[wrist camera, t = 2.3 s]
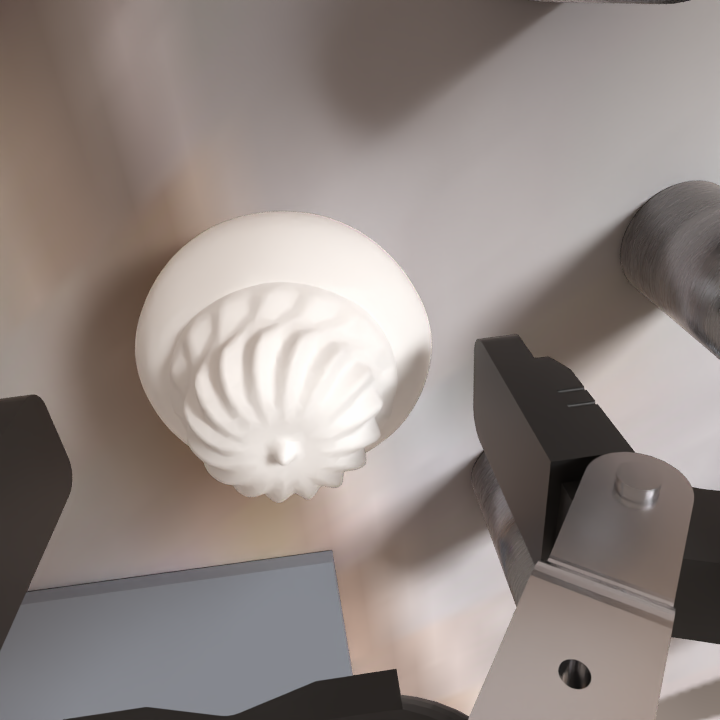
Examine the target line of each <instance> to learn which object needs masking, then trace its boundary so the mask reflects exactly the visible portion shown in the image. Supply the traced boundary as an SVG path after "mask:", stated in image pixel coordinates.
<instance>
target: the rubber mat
mask: <svg viewBox="0 0 720 720" xmlns="http://www.w3.org/2000/svg"><path fill="white" fill-rule="evenodd" d="M346 676H353V674H352V668H351V662H350V656H349V650H348V644H347V638H346V632H345V626H344V620H343V614H342V608H341V602H340V595H339V589H338V583H337V577H336V571H335V565H334V559H333V553H332V551H324V552H317V553H310V554H302V555H295V556H288V557H280V558H273V559H266V560H258V561H251V562H244V563H236V564H229V565H222V566H214V567H207V568H200V569H192V570H185V571H178V572H171V573H163V574H156V575H149V576H141V577H134V578H127V579H119V580H112V581H105V582H97V583H90V584H83V585H75V586H68V587H61V588H53V589H46V590H39V591H31V592H26V594H25V596H24V599H23V601H22V603H21V605H20V608H19V610H18V612H17V614H16V617H15V619H14V621H13V623H12V626H11V628H10V630H9V632H8V635H7V637H6V639H5V642H4V644H3V646H2V648H1V651H0V720H63V719H69V718H76V717H82V716H89V715H96V714H102V713H109V712H115V711H122V710H129V709H135V708H142V707H152V708H161V709H169V710H177V711H185V712H194V713H202V714H210V715H219V716H230V715H235V714H238V713H240V712H243V711H245V710H248V709H250V708H252V707H255V706H257V705H260V704H262V703H264V702H267V701H269V700H272V699H274V698H276V697H279V696H281V695H284V694H286V693H289V692H291V691H293V690H296V689H298V688H301V687H303V686H305V685H308V684H310V683H313V682H315V681H320V680H327V679H333V678H340V677H346Z"/></svg>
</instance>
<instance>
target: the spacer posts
mask: <svg viewBox="0 0 720 720" xmlns="http://www.w3.org/2000/svg"><path fill="white" fill-rule="evenodd" d="M530 1H538V2H583V3H635V4H674V3H679V2H685V1H689V0H530ZM620 258H621V266H622V270H623V272H624V275H625V276H626V278H627V280H628V281H629V282H630V283H631V284H632V285H633V286H634V287H635V288H636V289H637V290H639V291H640V292H641V293H642V294H643V295H644V296H646V297H647V298H648V299H649V300H650V301H652V302H653V303H654V304H655V305H656V306H657V307H659V308H660V309H661V310H662V311H663V312H664V313H666V314H667V315H668V316H669V317H670V318H671V319H673V320H674V321H675V322H676V323H677V324H679V325H680V326H681V327H682V328H683V329H684V330H686V331H687V332H688V333H689V334H690V335H691V336H693V337H694V338H695V339H696V340H697V341H698V342H700V343H701V344H702V345H703V346H704V347H706V348H707V349H708V350H709V351H710V352H711V353H713V354H714V355H715V356H716V357H717V358H718V359H720V186H719V185H717V184H714V183H711V182H707V181H688V182H683V183H680V184H676V185H674V186H671V187H669V188H667V189H665V190H663V191H662V192H660V193H658V194H657V195H655V196H654V197H653V198H651V199H650V200H649V201H648V202H647V203H646V204H644V206H643V207H642V208H641V209H640V210H639V211H638V212H637V214H636V215H635V216H634V217H633V219H632V221H631V222H630V224H629V226H628V228H627V230H626V232H625V234H624V237H623V240H622V245H621V253H620ZM471 481H472V486H473V489H474V492H475V495H476V497H477V500H478V503H479V506H480V508H481V511H482V514H483V516H484V519H485V522H486V525H487V527H488V530H489V533H490V536H491V538H492V541H493V544H494V547H495V549H496V552H497V555H498V558H499V560H500V563H501V566H502V568H503V571H504V574H505V577H506V579H507V582H508V585H509V588H510V590H511V593H512V596H513V599H514V601H515V604H516V607H517V605H518V603H519V601H520V598H521V596H522V594H523V591H524V589H525V587H526V585H527V582H528V580H529V578H530V575H531V573H532V571H533V569H534V567H535V565H534V563H533V561H532V558H531V556H530V554H529V551H528V549H527V547H526V545H525V542H524V540H523V538H522V536H521V533H520V531H519V529H518V527H517V524H516V522H515V520H514V517H513V515H512V513H511V511H510V508H509V506H508V504H507V502H506V499H505V497H504V495H503V493H502V490H501V488H500V486H499V483H498V481H497V479H496V477H495V474H494V472H493V470H492V468H491V465H490V463H489V461H488V459H487V456H486V454H485V452H483V453H482V454H481V456H480V457H479V458H478V460H477V461H476V463H475V465H474V467H473V470H472V476H471Z"/></svg>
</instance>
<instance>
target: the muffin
mask: <svg viewBox="0 0 720 720" xmlns="http://www.w3.org/2000/svg"><path fill="white" fill-rule="evenodd" d="M431 351H432V338H431V330H430V324H429V320H428V317H427V314H426V311H425V308H424V306H423V303H422V301H421V299H420V297H419V295H418V293H417V291H416V290H415V288H414V286H413V285H412V283H411V281H410V280H409V278H408V277H407V275H406V274H405V272H404V271H403V270H402V268H401V267H400V266H399V265H398V264H397V262H396V261H395V260H394V259H393V258H392V257H391V256H390V255H389V254H388V253H387V252H386V251H385V250H384V249H383V248H382V247H380V246H379V245H378V244H377V243H376V242H374V241H373V240H372V239H370V238H369V237H368V236H366V235H365V234H363V233H361V232H360V231H358V230H356V229H354V228H352V227H350V226H348V225H346V224H344V223H342V222H339V221H336V220H334V219H331V218H328V217H324V216H321V215H316V214H311V213H305V212H292V211H273V212H262V213H255V214H250V215H245V216H240V217H237V218H234V219H230V220H227V221H224V222H222V223H220V224H217V225H215V226H213V227H211V228H209V229H207V230H206V231H204V232H202V233H201V234H199V235H198V236H196V237H195V238H193V239H192V240H191V241H189V242H188V243H187V244H186V245H185V246H183V247H182V248H181V249H180V250H179V251H178V252H177V253H176V254H175V255H174V256H173V257H172V258H171V259H170V260H169V262H168V263H167V264H166V266H165V267H164V268H163V270H162V271H161V272H160V274H159V275H158V277H157V279H156V280H155V282H154V284H153V286H152V287H151V289H150V291H149V293H148V296H147V298H146V300H145V303H144V305H143V308H142V311H141V314H140V317H139V321H138V325H137V331H136V338H135V358H136V365H137V370H138V374H139V377H140V381H141V384H142V386H143V389H144V391H145V393H146V395H147V397H148V399H149V401H150V403H151V405H152V406H153V408H154V409H155V411H156V413H157V414H158V416H159V417H160V418H161V420H162V421H163V422H164V423H165V425H166V426H167V427H168V428H169V429H170V430H171V431H172V432H173V433H174V434H175V435H176V436H177V437H178V438H179V439H180V440H182V441H183V442H184V443H185V444H187V445H188V446H189V447H190V449H191V451H192V452H193V453H194V454H195V455H196V456H197V457H198V458H199V459H200V460H201V461H203V462H204V465H205V467H206V469H207V471H208V473H209V474H210V475H211V476H212V477H213V478H215V479H216V480H217V481H219V482H221V483H223V484H227V485H233V487H234V488H235V489H236V490H237V491H238V492H239V493H241V494H242V495H244V496H246V497H257V496H259V495H262V494H265V495H266V496H267V497H269V498H270V499H271V500H272V501H274V502H277V503H280V502H283V501H284V500H286V499H287V498H288V497H290V496H291V495H292V494H294V493H295V494H298V495H300V496H301V497H303V498H304V499H307V500H309V499H311V498H312V497H314V495H315V494H316V492H317V491H318V489H319V488H320V487H322V486H325V487H331V488H337V487H339V486H340V485H342V482H343V475H344V472H345V471H351V470H356V469H359V468H361V467H363V466H364V465H365V463H366V454H365V453H366V452H368V451H369V450H371V449H372V448H374V447H376V446H377V445H378V444H380V443H381V442H382V441H384V440H385V439H386V438H388V437H389V436H390V435H391V434H393V433H394V432H395V431H396V430H397V429H398V428H399V427H400V425H401V424H402V423H403V422H404V421H405V419H406V418H407V417H408V415H409V414H410V412H411V411H412V409H413V408H414V406H415V404H416V402H417V400H418V399H419V396H420V394H421V392H422V390H423V387H424V384H425V381H426V378H427V375H428V371H429V367H430V362H431Z"/></svg>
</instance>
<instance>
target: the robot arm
mask: <svg viewBox="0 0 720 720" xmlns="http://www.w3.org/2000/svg"><path fill="white" fill-rule="evenodd" d="M473 410H474V420H475V426H476V431H477V434H478V438H479V440H480V443H481V445H482V447H483V449H484V452H485V454H486V456H487V459H488V461H489V463H490V465H491V468H492V470H493V472H494V474H495V477H496V479H497V481H498V483H499V486H500V488H501V490H502V493H503V495H504V497H505V499H506V502H507V504H508V506H509V508H510V511H511V513H512V515H513V517H514V520H515V522H516V524H517V527H518V529H519V531H520V533H521V536H522V538H523V540H524V542H525V545H526V547H527V549H528V551H529V554H530V556H531V558H532V561H533V563H534V565H535V567H534V569H533V571H532V573H531V575H530V578H529V580H528V582H527V585H526V587H525V589H524V591H523V594H522V596H521V598H520V601H519V603H518V605H517V608H516V610H515V612H514V615H513V617H512V619H511V621H510V624H509V626H508V628H507V631H506V633H505V635H504V638H503V640H502V642H501V645H500V647H499V649H498V652H497V654H496V656H495V658H494V661H493V663H492V665H491V668H490V670H489V672H488V675H487V677H486V679H485V682H484V684H483V686H482V688H481V691H480V693H479V695H478V698H477V700H476V702H475V705H474V707H473V709H472V712H471V714H470V716H467V715H465V714H463V713H462V712H460V711H458V710H456V709H453V708H451V707H448V706H446V705H443V704H441V703H438V702H435V701H431V700H427V699H423V698H419V697H413V696H405V695H401V694H400V688H399V682H398V676H397V670H396V669H393V670H386V671H379V672H373V673H366V674H360V675H353V676H346V677H340V678H333V679H327V680H320V681H315V682H313V683H310V684H308V685H305V686H303V687H301V688H298V689H296V690H293V691H291V692H289V693H286V694H284V695H281V696H279V697H276V698H274V699H272V700H269V701H267V702H264V703H262V704H260V705H257V706H255V707H252V708H250V709H248V710H245V711H243V712H240V713H238V714H235V715H230V716H219V715H210V714H202V713H194V712H185V711H177V710H169V709H161V708H152V707H142V708H135V709H129V710H122V711H115V712H109V713H102V714H96V715H89V716H82V717H76V718H69V719H63V720H655V718H656V713H657V708H658V703H659V697H660V692H661V687H662V681H663V676H664V671H665V666H666V660H667V655H668V650H669V644H670V639H671V637H676V638H682V639H689V640H695V641H702V642H708V643H715V644H720V491H716V490H706V489H699V488H694V487H692V486H691V484H690V482H689V481H688V480H687V478H686V477H685V476H684V475H683V474H682V473H681V472H680V471H679V470H677V469H676V468H674V467H673V466H672V465H670V464H668V463H666V462H664V461H662V460H660V459H657V458H655V457H652V456H648V455H645V454H640V453H635V452H634V450H633V449H632V448H631V447H630V445H629V444H628V443H627V441H626V440H625V439H624V438H623V436H622V435H621V434H620V432H619V431H618V430H617V428H616V427H615V426H614V425H613V423H612V422H611V421H610V419H609V418H608V417H607V416H606V414H605V413H604V412H603V410H602V409H601V408H600V407H599V405H598V404H597V405H596V404H595V400H594V399H593V398H592V396H591V395H590V394H589V392H588V391H587V390H584V386H583V385H582V383H581V382H580V381H579V380H578V378H577V377H576V376H575V374H574V373H573V372H572V370H571V369H569V368H567V367H565V366H564V365H562V364H560V363H559V362H557V361H555V360H554V359H552V358H550V357H541V358H534V357H533V355H532V354H531V352H530V351H529V350H528V348H527V347H526V345H525V344H524V342H523V341H522V340H521V338H520V337H519V336H518V335H516V334H514V335H506V336H498V337H490V338H483V339H477V340H476V342H475V347H474V398H473ZM71 487H72V469H71V464H70V461H69V458H68V456H67V454H66V451H65V449H64V447H63V444H62V442H61V440H60V437H59V435H58V433H57V431H56V428H55V426H54V424H53V421H52V419H51V417H50V414H49V412H48V410H47V407H46V405H45V403H44V402H43V400H42V399H41V398H40V397H39V396H37V395H26V396H18V397H10V398H2V399H0V651H1V648H2V646H3V644H4V642H5V639H6V637H7V635H8V632H9V630H10V628H11V626H12V623H13V621H14V619H15V617H16V614H17V612H18V610H19V608H20V605H21V603H22V601H23V599H24V596H25V594H26V592H27V590H28V587H29V585H30V583H31V580H32V578H33V576H34V574H35V571H36V569H37V567H38V565H39V562H40V560H41V558H42V556H43V553H44V551H45V549H46V547H47V544H48V542H49V540H50V538H51V535H52V533H53V531H54V528H55V526H56V524H57V522H58V519H59V517H60V515H61V513H62V510H63V508H64V506H65V504H66V501H67V499H68V497H69V494H70V491H71Z"/></svg>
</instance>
